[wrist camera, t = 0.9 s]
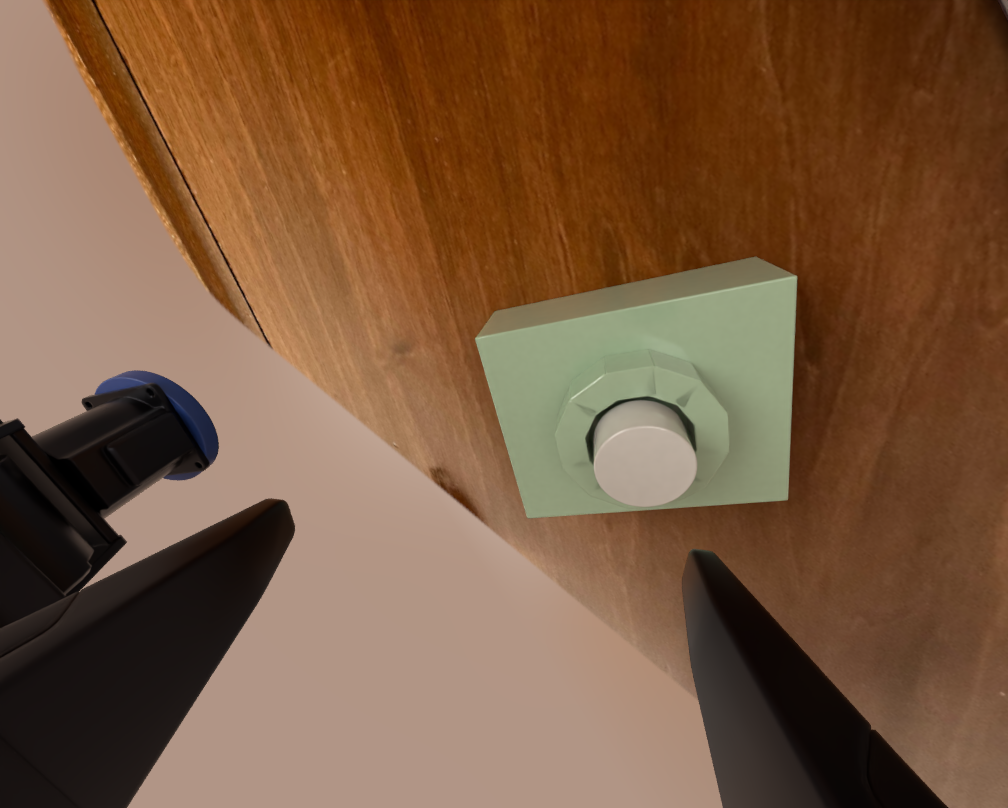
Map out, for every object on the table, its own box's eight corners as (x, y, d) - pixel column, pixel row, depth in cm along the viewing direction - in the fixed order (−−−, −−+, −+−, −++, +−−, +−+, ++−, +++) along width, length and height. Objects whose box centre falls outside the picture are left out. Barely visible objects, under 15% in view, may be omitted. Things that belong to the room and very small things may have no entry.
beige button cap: (600, 479, 18) (601, 511, 17) (586, 406, 17) (586, 433, 15) (689, 470, 17) (700, 503, 16) (683, 392, 16) (694, 419, 14)
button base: (536, 470, 26) (522, 545, 20) (493, 311, 22) (462, 353, 16) (756, 448, 22) (806, 530, 17) (756, 255, 18) (823, 286, 13)
